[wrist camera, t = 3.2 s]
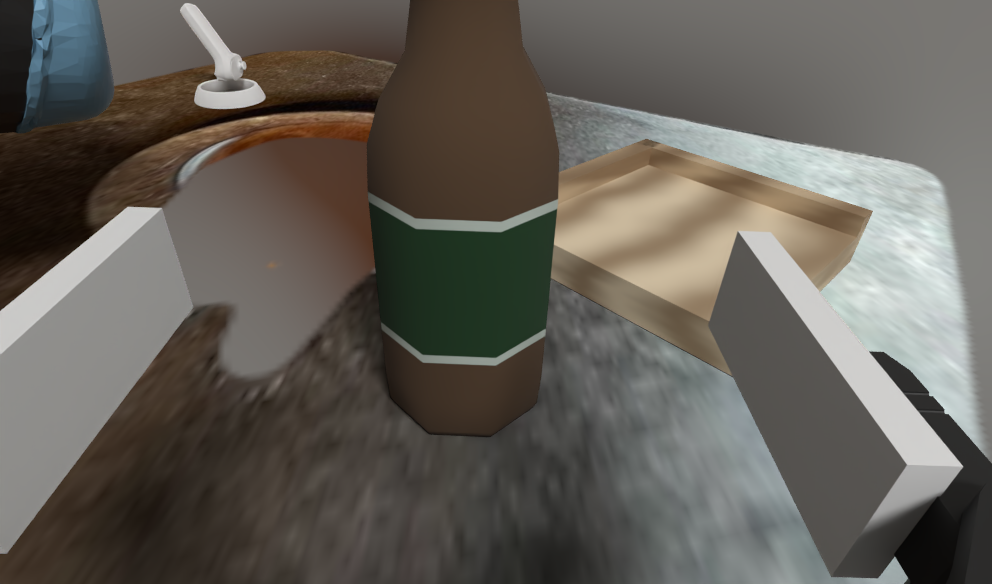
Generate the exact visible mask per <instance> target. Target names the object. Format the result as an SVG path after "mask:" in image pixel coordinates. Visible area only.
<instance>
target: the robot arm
mask: <svg viewBox="0 0 992 584" xmlns="http://www.w3.org/2000/svg"><path fill="white" fill-rule="evenodd" d="M113 94H114V82H113V76H112V70H111V65H110V60H109V55H108V50H107V45H106V39H105V35H104V30H103V25H102V20H101V15H100V10H99V5H98V1H97V0H0V133H9V132H16V133H26V132H29V131H31V130H32V129H33V128H35V127H42V126H49V125H55V124H62V123H68V122H75V121H82V120H87V119H91V118H93V117H96V116H98V115H99V114H101V113H102V112H104V111H105V110H106V109H107V107H108V106H109V105H110V103H111V101H112V99H113ZM192 308H193V305H192V301H191V298H190V295H189V292H188V289H187V286H186V282H185V280H184V276H183V273H182V270H181V267H180V263H179V261H178V257H177V254H176V251H175V248H174V244H173V241H172V238H171V235H170V232H169V229H168V226H167V222H166V219H165V216H164V213H163V209H162V208H146V207H127V208H126V209H124V210H123V211H122V212H121V213H120V214H118V215H117V216H116V217H115V218H113V219H112V220H111V221H110V222H109V223H107V224H106V225H105V226H104V227H103V228H101V229H100V230H99V231H98V232H96V233H95V234H94V235H93V236H92V237H90V238H89V239H88V240H87V241H85V242H84V243H83V244H82V245H81V246H79V247H78V248H77V249H76V250H74V251H73V252H72V253H71V254H70V255H68V256H67V257H66V258H65V259H63V260H62V261H61V262H60V263H59V264H57V265H56V266H55V267H54V268H52V269H51V270H50V271H49V272H48V273H46V274H45V275H44V276H43V277H41V278H40V279H39V280H38V281H37V282H35V283H34V284H33V285H32V286H30V287H29V288H28V289H27V290H26V291H24V292H23V293H22V294H21V295H19V296H18V297H17V298H16V299H15V300H13V301H12V302H11V303H10V304H8V305H7V306H6V307H5V308H4V309H2V310H1V311H0V554H7V553H8V551H9V550H10V549H11V547H12V546H13V545H14V543H15V542H16V541H17V539H18V538H19V537H20V535H21V534H22V533H23V531H24V530H25V529H26V527H27V526H28V525H29V523H30V522H31V521H32V520H33V518H34V517H35V516H36V514H37V513H38V512H39V510H40V509H41V508H42V506H43V505H44V504H45V502H46V501H47V500H48V498H49V497H50V496H51V494H52V493H53V492H54V490H55V489H56V488H57V486H58V485H59V484H60V483H61V481H62V480H63V479H64V477H65V476H66V475H67V473H68V472H69V471H70V469H71V468H72V467H73V465H74V464H75V463H76V461H77V460H78V459H79V457H80V456H81V455H82V453H83V452H84V451H85V450H86V448H87V447H88V446H89V444H90V443H91V442H92V440H93V439H94V438H95V436H96V435H97V434H98V432H99V431H100V430H101V428H102V427H103V426H104V424H105V423H106V422H107V420H108V419H109V418H110V416H111V415H112V414H113V413H114V411H115V410H116V409H117V407H118V406H119V405H120V403H121V402H122V401H123V399H124V398H125V397H126V395H127V394H128V393H129V391H130V390H131V389H132V387H133V386H134V385H135V383H136V382H137V381H138V379H139V378H140V377H141V376H142V374H143V373H144V372H145V370H146V369H147V368H148V366H149V365H150V364H151V362H152V361H153V360H154V358H155V357H156V356H157V354H158V353H159V352H160V350H161V349H162V348H163V346H164V345H165V344H166V342H167V341H168V340H169V339H170V337H171V336H172V335H173V333H174V332H175V331H176V329H177V328H178V327H179V325H180V324H181V323H182V321H183V320H184V319H185V317H186V316H187V315H188V313H189V312H190V311H191V309H192ZM708 327H709V329H710V331H711V333H712V335H713V337H714V339H715V341H716V343H717V345H718V347H719V349H720V351H721V353H722V355H723V357H724V359H725V361H726V363H727V366H728V368H729V370H730V372H731V374H732V376H733V378H734V380H735V382H736V384H737V386H738V388H739V390H740V392H741V394H742V396H743V398H744V400H745V402H746V404H747V406H748V408H749V410H750V412H751V414H752V416H753V418H754V420H755V422H756V425H757V427H758V429H759V431H760V433H761V435H762V437H763V439H764V441H765V443H766V445H767V447H768V449H769V451H770V453H771V455H772V457H773V459H774V461H775V463H776V465H777V467H778V469H779V471H780V473H781V475H782V477H783V479H784V481H785V484H786V486H787V488H788V490H789V492H790V494H791V496H792V498H793V500H794V502H795V504H796V506H797V508H798V510H799V512H800V514H801V516H802V518H803V520H804V522H805V524H806V526H807V528H808V530H809V532H810V534H811V536H812V538H813V541H814V543H815V545H816V547H817V549H818V551H819V553H820V555H821V557H822V559H823V561H824V563H825V565H826V567H827V569H828V571H829V573H830V575H831V577H853V578H879V576H880V575H881V574H882V573H883V571H884V570H885V569H886V567H887V566H888V565H889V563H890V562H891V561H892V559H893V558H894V557H896V559H897V560H898V562H899V564H900V565H901V567H902V569H903V570H904V572H905V574H906V575H907V577H908V579H907V581H906V582H905V583H904V584H992V463H991V462H990V461H989V460H988V459H987V458H986V457H985V455H984V454H983V453H982V452H981V451H980V450H979V449H978V447H977V446H976V445H975V444H974V443H973V442H972V441H971V439H970V438H969V437H968V436H967V435H966V434H965V433H964V431H963V430H962V429H961V428H960V427H959V426H958V425H957V423H956V422H955V421H954V420H953V419H952V418H951V417H950V415H949V414H945V413H944V409H943V407H942V406H941V405H940V404H939V403H938V402H937V401H936V399H935V398H934V397H933V396H929V391H928V390H927V389H926V388H925V387H924V386H923V385H922V383H921V382H920V381H919V380H918V379H917V378H916V377H915V375H914V374H913V373H912V372H911V371H910V370H909V369H907V368H906V367H904V366H903V365H901V364H900V363H899V362H897V361H896V360H894V359H893V358H891V357H890V356H889V355H887V354H886V353H884V352H869V351H868V350H867V349H866V348H865V346H864V345H863V344H862V343H861V341H860V340H859V339H858V338H857V337H856V335H855V334H854V333H853V332H852V330H851V329H850V328H849V327H848V326H847V324H846V323H845V322H844V321H843V320H842V318H841V317H840V316H839V315H838V313H837V312H836V311H835V310H834V309H833V307H832V306H831V305H830V304H829V302H828V301H827V300H826V299H825V298H824V296H823V295H822V294H821V293H820V292H819V290H818V289H817V288H816V287H815V285H814V284H813V283H812V282H811V281H810V279H809V278H808V277H807V276H806V274H805V273H804V272H803V271H802V270H801V268H800V267H799V266H798V265H797V264H796V262H795V261H794V260H793V259H792V257H791V256H790V255H789V254H788V253H787V251H786V250H785V249H784V248H783V246H782V245H781V244H780V243H779V242H778V240H777V239H776V238H775V237H774V235H773V234H772V233H771V232H755V231H738V232H737V235H736V238H735V241H734V244H733V248H732V251H731V254H730V257H729V260H728V264H727V267H726V270H725V273H724V276H723V279H722V283H721V286H720V289H719V292H718V295H717V299H716V302H715V305H714V308H713V311H712V314H711V318H710V321H709V324H708Z"/></svg>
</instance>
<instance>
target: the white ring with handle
mask: <svg viewBox="0 0 992 584" xmlns="http://www.w3.org/2000/svg"><path fill="white" fill-rule="evenodd" d="M180 12H181V15H182V16H183V18H184V19H185V21H186V22H187V24H188V25H189V26H190V28H191V29H192V30H193V32H194V33H195V34H196V36H197V37H198V38H199V40H200V41H201V42H202V44H203V45H204V47H205V48H206V49H207V50H208V52H209V53H210V54H211V56H212V57H213V59H214V61H215V73H214V75H216V77H217V79H216V80H210V81H207V82H204V83H201V84H200V85H198V87H197V90H196V93H195V100H194V101H195V103H196V104H197V105H199V106H202V107H206V108H214V109H231V108H241V107H247V106H251V105H255V104H258V103H260V102H262V101H263V100H264V99H265V94H264V92H263V91H262V89H261V88H260V87H259V85H258V84H257V83H256V82H255V81H252V80H248V79H241V78H240V77H241V76H242V75H243V69H244V70H245V69H246V63H245V62H244V61H243V62H242V59H241V57H240V56H239V55H238V54H234V53H231V52H230V50H229V49H228V48H227V47H226V45H225V44H224V42H223V41H222V40H221V38H220V37H219V36H218V34H217V33H216V31H215V30H214V29H213V28H212V26H211V25H210V23H209V22H208V21H207V19H206V18H205V16H204V15H203V14H202V12H201V11H200V10H199V9H198V8H197V6H195V5H193V4H190V3H186V4H184V5H183V6H182V8H181V9H180ZM224 91H234V92H224Z"/></svg>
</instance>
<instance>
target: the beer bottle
mask: <svg viewBox="0 0 992 584" xmlns="http://www.w3.org/2000/svg"><path fill="white" fill-rule="evenodd" d="M367 174H368V175H367V176H368V199H369V208H370V218H371V229H372V239H373V249H374V259H375V269H376V278H377V288H378V298H379V308H380V318H381V328H382V338H383V348H384V358H385V368H386V374H387V380H388V385H389V391H390V396H391V398H392V399H393V400H394V401H395V402H396V403H397V404H398V405H399V406H400V407H401V408H402V409H403V410H404V411H405V412H406V413H408V414H409V415H410V416H411V417H412V418H413V419H414V420H415V421H416V422H417V423H419V424H420V425H421V426H422V427H423V428H424V429H425V430H426V431H427V432H428V433H430V434H436V435H460V436H484V437H491V436H492V435H494V434H495V433H497V432H498V431H500V430H501V429H503V428H504V427H505V426H507V425H508V424H510V423H511V422H513V421H514V420H515V419H517V418H518V417H520V416H521V415H523V414H524V413H526V412H527V411H528V410H530V409H531V408H533V406H534V405H535V404H536V403H537V398H538V392H539V386H540V380H541V373H542V363H543V353H544V342H545V332H546V321H547V311H548V301H549V290H550V280H551V270H552V259H553V249H554V238H555V228H556V218H557V207H558V187H559V149H558V143H557V138H556V132H555V127H554V123H553V119H552V115H551V111H550V106H549V102H548V98H547V94H546V90H545V87H544V85H543V83H542V81H541V79H540V77H539V76H538V74H537V72H536V70H535V68H534V66H533V64H532V62H531V60H530V58H529V57H528V55H527V53H526V51H525V49H524V47H523V44H522V34H521V24H520V14H519V6H518V0H410V8H409V18H408V26H407V35H406V45H405V51H404V53H403V55H402V57H401V59H400V60H399V62H398V64H397V66H396V68H395V70H394V72H393V73H392V75H391V77H390V79H389V81H388V83H387V85H386V86H385V88H384V90H383V92H382V94H381V96H380V98H379V100H378V103H377V107H376V111H375V115H374V119H373V123H372V127H371V131H370V134H369V138H368V142H367Z"/></svg>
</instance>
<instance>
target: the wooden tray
mask: <svg viewBox="0 0 992 584" xmlns="http://www.w3.org/2000/svg"><path fill="white" fill-rule="evenodd" d="M872 212H873V211H871V210H868V209H865V208H862V207H859V206H856V205H852V204H849V203H846V202H843V201H840V200H837V199H834V198H830V197H827V196H824V195H821V194H818V193H815V192H812V191H808V190H805V189H802V188H799V187H796V186H793V185H790V184H787V183H783V182H780V181H777V180H774V179H771V178H768V177H765V176H761V175H758V174H755V173H752V172H749V171H746V170H743V169H739V168H736V167H733V166H730V165H727V164H724V163H721V162H717V161H714V160H711V159H708V158H705V157H702V156H699V155H695V154H692V153H689V152H686V151H683V150H680V149H677V148H674V147H670V146H667V145H664V144H661V143H658V142H655V141H652V140H648V139H645V140H642V141H639V142H637V143H634V144H632V145H629V146H626V147H624V148H621V149H619V150H616V151H613V152H611V153H608V154H606V155H603V156H600V157H598V158H595V159H593V160H590V161H587V162H585V163H582V164H580V165H577V166H574V167H572V168H569V169H567V170H564V171H561V172H559V187H558V207H557V218H556V228H555V238H554V249H553V259H552V270H551V278H552V279H553V280H555V281H557V282H559V283H561V284H563V285H565V286H566V287H568V288H570V289H572V290H574V291H576V292H577V293H579V294H581V295H583V296H585V297H587V298H589V299H590V300H592V301H594V302H596V303H598V304H600V305H601V306H603V307H605V308H607V309H609V310H611V311H613V312H614V313H616V314H618V315H620V316H622V317H624V318H625V319H627V320H629V321H631V322H633V323H635V324H637V325H638V326H640V327H642V328H644V329H646V330H648V331H649V332H651V333H653V334H655V335H657V336H659V337H661V338H662V339H664V340H666V341H668V342H670V343H672V344H673V345H675V346H677V347H679V348H681V349H683V350H685V351H686V352H688V353H690V354H692V355H694V356H696V357H697V358H699V359H701V360H703V361H705V362H707V363H709V364H710V365H712V366H714V367H716V368H718V369H720V370H721V371H723V372H725V373H727V374H729V375H731V376H732V374H731V372H730V370H729V368H728V366H727V363H726V361H725V359H724V357H723V355H722V353H721V351H720V349H719V347H718V345H717V343H716V341H715V339H714V337H713V335H712V333H711V331H710V329H709V327H708V324H709V321H710V318H711V314H712V311H713V308H714V305H715V302H716V299H717V295H718V292H719V289H720V286H721V283H722V279H723V276H724V273H725V270H726V267H727V264H728V260H729V257H730V254H731V251H732V248H733V244H734V241H735V238H736V235H737V232H738V231H755V232H771V233H772V234H773V235H774V237H775V238H776V239H777V240H778V242H779V243H780V244H781V245H782V246H783V248H784V249H785V250H786V251H787V253H788V254H789V255H790V256H791V257H792V259H793V260H794V261H795V262H796V264H797V265H798V266H799V267H800V268H801V270H802V271H803V272H804V273H805V274H806V276H807V277H808V278H809V279H810V281H811V282H812V283H813V284H814V285H815V287H816V288H817V289H818V290H819V292H820V291H821V290H822V289H823V288H824V287H825V286H826V285H827V284H828V283H829V282H830V281H831V280H832V279H833V278H834V277H835V276H836V275H837V274H838V273H839V272H840V271H841V270H842V269H843V268H844V267H845V266H846V265H847V264H848V263H849V262H850V260H851V258H852V256H853V254H854V252H855V249H856V247H857V245H858V243H859V241H860V238H861V236H862V234H863V232H864V230H865V227H866V225H867V223H868V221H869V219H870V216H871V214H872Z"/></svg>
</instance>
